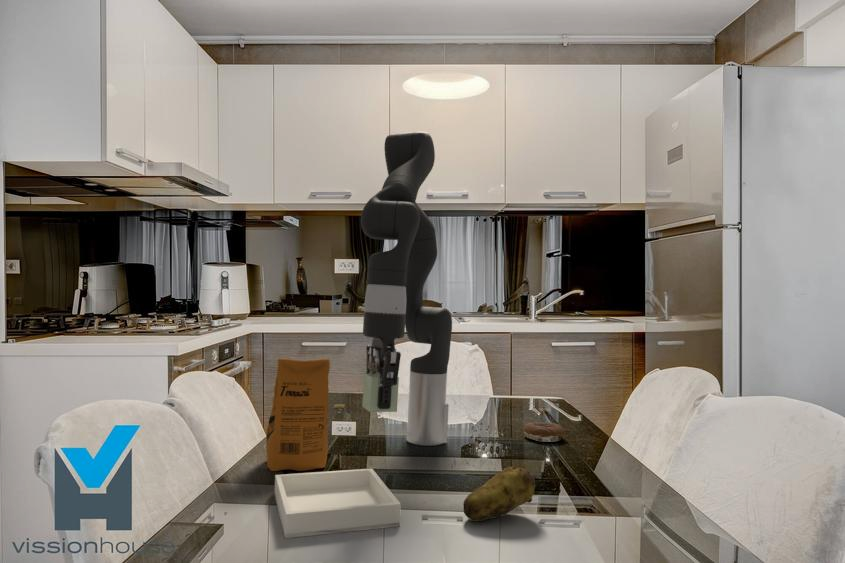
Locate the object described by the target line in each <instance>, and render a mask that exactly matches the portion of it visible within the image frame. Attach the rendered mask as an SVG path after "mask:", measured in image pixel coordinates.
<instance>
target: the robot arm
mask: <svg viewBox="0 0 845 563" xmlns="http://www.w3.org/2000/svg"><path fill="white" fill-rule="evenodd" d="M383 148H384V158H385V164H386V169H387V174H388V175H387V177H386V179H385V180H384V183H383V185H382V187H381V190H380V191H378V192H377V193H375V194H374V195H373V196H372V197H371V198H370V199H369V200H368V201H367V202H366V204H364V207H363V209H362V211H361V215H360V227H361V230H362V232H363V233H364V235H366V236H367V237H368V238H370V239H372V240H386V241H387V240H388V241H397V243H396V244H395V246H394V247H393V248H392V249H390V250H386V251H380V252H375V253H372V254H371V255H370V256H369V258H368V267H367V269H368V270H367V282H366V284H367V285H366V290H365V295H364V296H365V297H364V307H363V308H364V309H363V326H362V327H363V328H362V334H363V336H365V337H367V338H372V339H371V340H372V341H371V344H367V345H366V348H365V349H366V372H365V373H370V374H377V375H378V377H379V379H378V385H379V388H378V404H377V406H378V408H379V409H389V408H390V406H391V390H392V388H391V387H393V385H396V384H397V379H398V377H399V370H400V365H401V357H402V354H401V352H400V351H397V349H396V345H395V339H403V338H404V337H405V332H406V336H407V338H408V339H409V341H410V342H413V343H416V344H423V345H424V344H425V345H430V348H429V350H428V351H429V352H427V353H426V354H424V355H422V356H418V357H414V358H412V359H411V361H410V364H409V365H410V366H409V367H410V368H409V369H410V370H409V383H408V385H409V386H408V390H409V391H408V405H407V406H408V408H407V409H408V410H407V428H406V430H407V431H406V441H407V442H408V443H410V444H413V445H418V446H423V447H424V446H426V447H427V446H430V447H431V446H438V445H442V444H447V443H448V429H449V428H448V425H449V404H448V403H447V382H448V380H447V379H448V365H449V360H450V351H451V341H452V332H453V318H452V315H451V312H450V311H449V309H447V308H446V307H434V306H425V305H424V299H423V297H424V296H423V294H424V293H423V292H424V287H425V284H426V281H427V279H428V277H429V275H430V274H431V271H432V270H433V267H434V266H435V263H436V261H437V258H438V245H437V235H436V234H437V233H436V228H435V226H434V223H433V222H432V221H431V219H430V217H428V216H427V214H426V212H424V210H423V209H422V207H420V205H419V204H418V202H417V197H418V193H419V190H420V188H421V186H422V185H423V183H424V182H425V181H426V178H428V176H429V175H430V173H431V172H432V170H433V167H434V165H435V159H436V158H435V156H436V152H435V150H436V149H435V145H434V141H433V138H432V135H431V134H430V133H429V132H426V131H410V132H402V133H393V134H392V133H391V134H388V135H387V136H386V137H385V140H384V147H383ZM387 374H388V375H389V378H387Z"/></svg>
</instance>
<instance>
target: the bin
mask: <svg viewBox="0 0 845 563" xmlns="http://www.w3.org/2000/svg"><path fill="white" fill-rule="evenodd" d="M273 495H274V500H275V502H276V503H275V504H276V507H277V511H278V515H279V520H280V523H281V527H282V530H283V531H282V532H283V536H284V538H285V539H292V538H300V537H302V538H303V537H309V536H310V537H311V536H318V535H319V536H320V535H329V534H330V535H331V534H339V533H349V532H358V531H359V532H360V531H367V530H368V531H369V530H376V529H377V530H378V529H388V528H389V529H390V528H394V527H395V528H396V527H397V528H398V527H400V525H401V524H400V523H401V508H402V507H401V502H400V501H399V499H397V497H396V496H395V495H394V494H393V493H392V492H391V490H390V488H389V487H387V484H386V483H384V481H383V480H382V479H381V478H380V476H379V475H378V474H377V472H376V471H375V470H374V469H373V468H361V469H360V468H359V469H347V470H343V469H342V470H332V471H331V470H330V471H314V472H312V471H311V472H302V473H301V472H298V473H287V474H286V473H285V474H284V473H283V474H275V475H274V494H273Z"/></svg>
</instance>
